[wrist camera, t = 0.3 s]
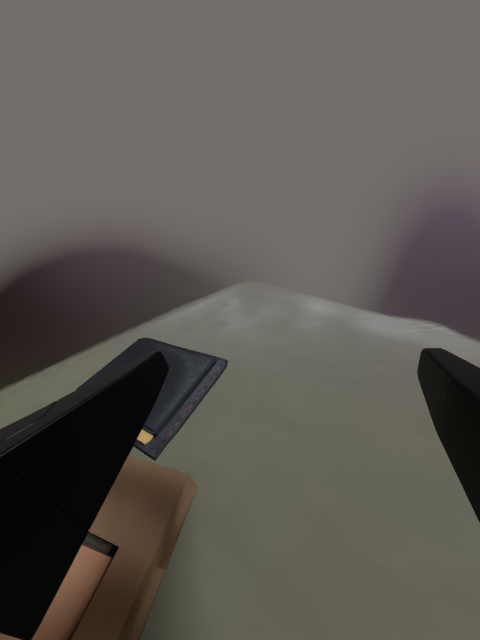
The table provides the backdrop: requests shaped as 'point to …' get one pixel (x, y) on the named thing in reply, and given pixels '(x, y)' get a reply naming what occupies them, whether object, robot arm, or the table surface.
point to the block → (73, 595)
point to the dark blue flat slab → (170, 389)
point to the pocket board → (135, 547)
